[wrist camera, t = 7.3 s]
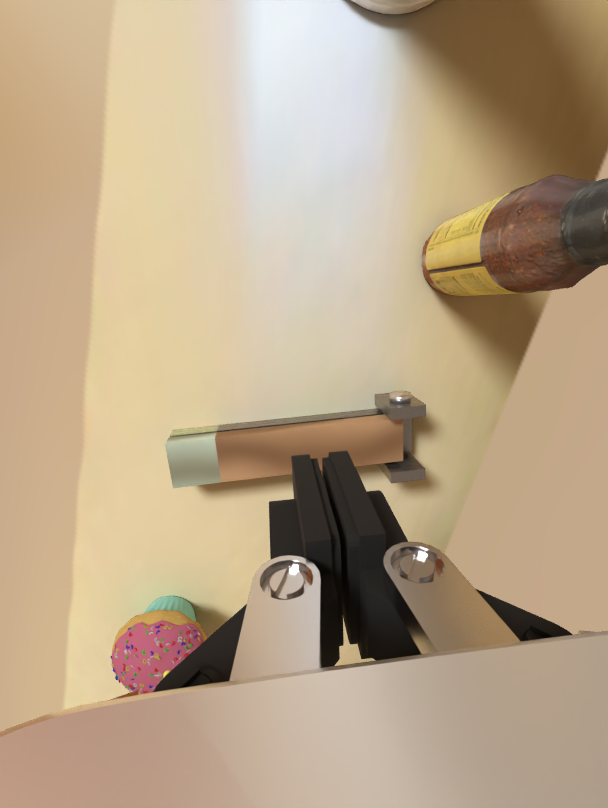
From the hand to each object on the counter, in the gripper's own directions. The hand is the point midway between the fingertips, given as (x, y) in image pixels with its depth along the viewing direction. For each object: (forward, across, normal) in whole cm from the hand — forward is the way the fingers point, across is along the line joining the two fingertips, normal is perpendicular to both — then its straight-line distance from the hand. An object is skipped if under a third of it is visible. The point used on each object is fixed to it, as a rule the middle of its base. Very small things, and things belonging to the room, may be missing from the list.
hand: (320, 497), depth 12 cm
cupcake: (+23, +14, +27) cm, 38 cm away
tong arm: (+22, 0, +9) cm, 24 cm away
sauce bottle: (+25, -15, -6) cm, 30 cm away
